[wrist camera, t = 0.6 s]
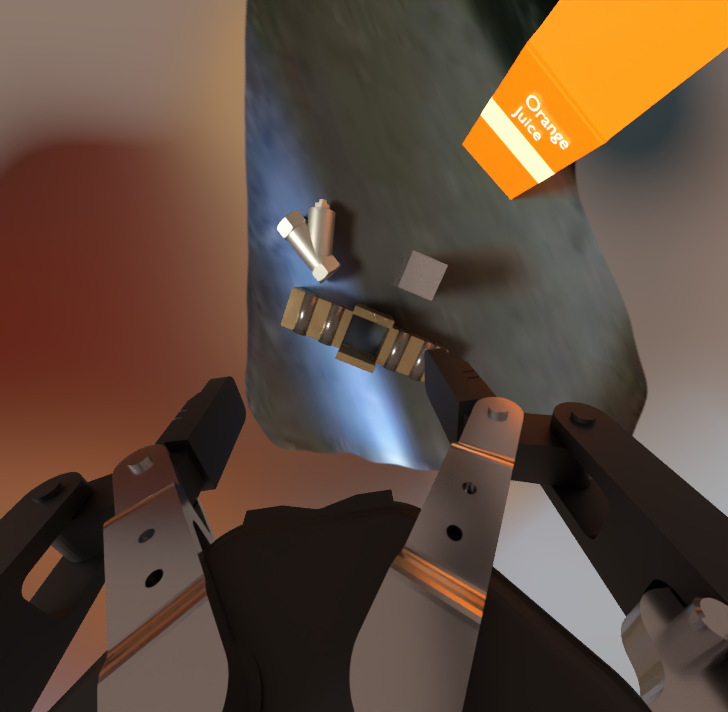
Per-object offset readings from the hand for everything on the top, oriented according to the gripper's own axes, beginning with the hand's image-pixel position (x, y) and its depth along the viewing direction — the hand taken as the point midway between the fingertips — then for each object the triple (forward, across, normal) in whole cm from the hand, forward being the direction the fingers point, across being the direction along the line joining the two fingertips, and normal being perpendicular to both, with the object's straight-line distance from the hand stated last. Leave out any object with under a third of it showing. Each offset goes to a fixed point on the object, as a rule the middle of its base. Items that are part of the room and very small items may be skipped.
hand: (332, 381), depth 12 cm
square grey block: (+27, -9, +3) cm, 28 cm away
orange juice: (+29, -22, -10) cm, 38 cm away
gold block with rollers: (+26, -3, +9) cm, 27 cm away
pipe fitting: (+30, +1, -2) cm, 30 cm away
